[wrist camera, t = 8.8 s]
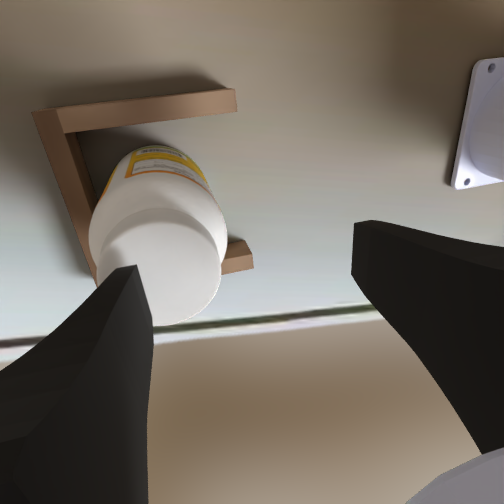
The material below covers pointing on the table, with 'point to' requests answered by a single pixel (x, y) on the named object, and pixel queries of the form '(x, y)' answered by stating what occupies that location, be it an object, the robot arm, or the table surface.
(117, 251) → the supplement bottle
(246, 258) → the bay
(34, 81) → the table surface
